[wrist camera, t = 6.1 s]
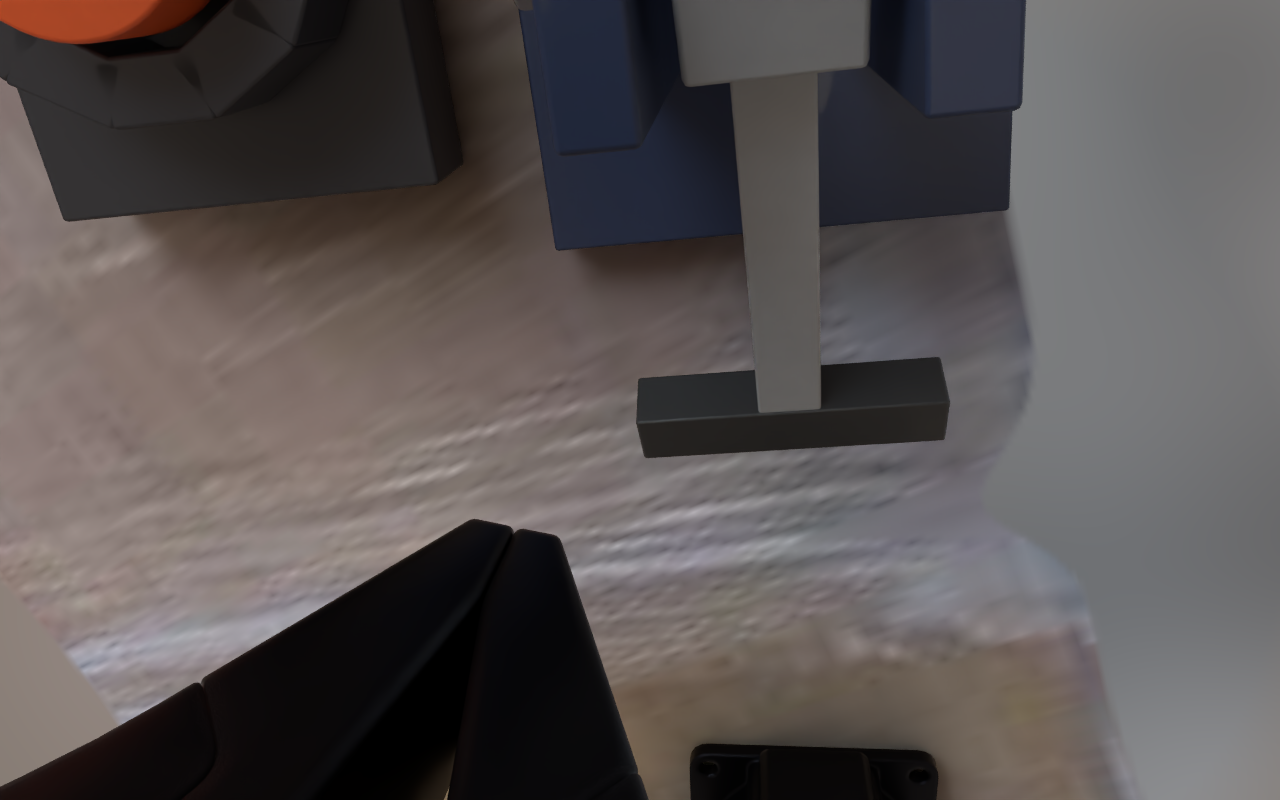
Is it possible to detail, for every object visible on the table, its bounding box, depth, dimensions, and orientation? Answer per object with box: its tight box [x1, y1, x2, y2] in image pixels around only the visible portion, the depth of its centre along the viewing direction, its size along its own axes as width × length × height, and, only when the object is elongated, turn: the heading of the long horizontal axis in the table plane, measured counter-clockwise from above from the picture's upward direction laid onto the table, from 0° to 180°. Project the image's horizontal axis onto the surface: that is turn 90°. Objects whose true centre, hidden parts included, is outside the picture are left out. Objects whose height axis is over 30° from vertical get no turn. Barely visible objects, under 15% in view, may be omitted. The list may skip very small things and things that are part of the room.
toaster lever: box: [636, 0, 950, 458], centre depth 14 cm, size 11×6×2 cm, turn 6°
